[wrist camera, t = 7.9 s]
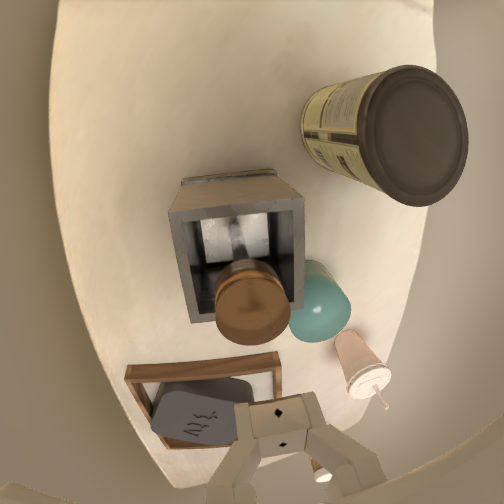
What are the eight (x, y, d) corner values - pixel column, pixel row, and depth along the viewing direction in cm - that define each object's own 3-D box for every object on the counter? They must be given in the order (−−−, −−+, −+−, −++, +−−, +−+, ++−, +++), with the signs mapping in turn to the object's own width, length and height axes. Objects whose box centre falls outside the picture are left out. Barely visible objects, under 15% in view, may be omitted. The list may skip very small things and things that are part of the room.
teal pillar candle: (275, 264, 35) (289, 295, 28) (330, 256, 35) (354, 285, 29) (277, 311, 38) (289, 347, 31) (327, 303, 38) (347, 336, 32)
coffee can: (392, 109, 28) (480, 114, 15) (363, 185, 32) (442, 226, 19) (317, 68, 26) (388, 36, 13) (285, 152, 29) (339, 173, 17)
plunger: (198, 199, 27) (184, 273, 14) (264, 192, 27) (312, 257, 14) (206, 259, 29) (205, 364, 16) (267, 252, 30) (308, 349, 17)
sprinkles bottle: (317, 429, 52) (334, 480, 40) (297, 431, 52) (312, 484, 39) (324, 418, 51) (343, 471, 38) (303, 420, 50) (320, 476, 38)
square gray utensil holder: (183, 178, 29) (164, 210, 18) (272, 169, 30) (306, 194, 19) (195, 259, 33) (189, 325, 22) (276, 250, 34) (306, 310, 23)
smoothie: (353, 355, 43) (388, 420, 31) (319, 353, 42) (351, 426, 29) (370, 324, 41) (415, 389, 28) (336, 321, 40) (377, 393, 27)
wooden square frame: (127, 365, 39) (124, 379, 36) (277, 351, 40) (281, 365, 38) (167, 437, 48) (167, 449, 45) (278, 427, 50) (281, 439, 47)
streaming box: (168, 360, 39) (165, 387, 35) (257, 381, 43) (262, 406, 39) (150, 409, 44) (147, 432, 39) (225, 425, 48) (227, 447, 43)
